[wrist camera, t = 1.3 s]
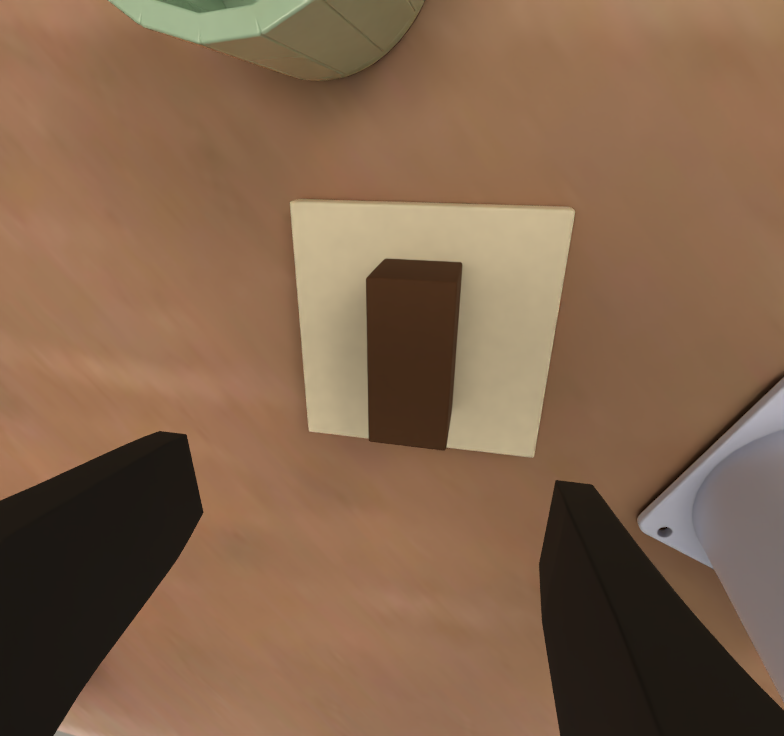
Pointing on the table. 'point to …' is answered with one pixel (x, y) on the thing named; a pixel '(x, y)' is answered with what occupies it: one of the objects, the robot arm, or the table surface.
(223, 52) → the cup
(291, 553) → the table surface
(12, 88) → the table surface
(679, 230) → the table surface
